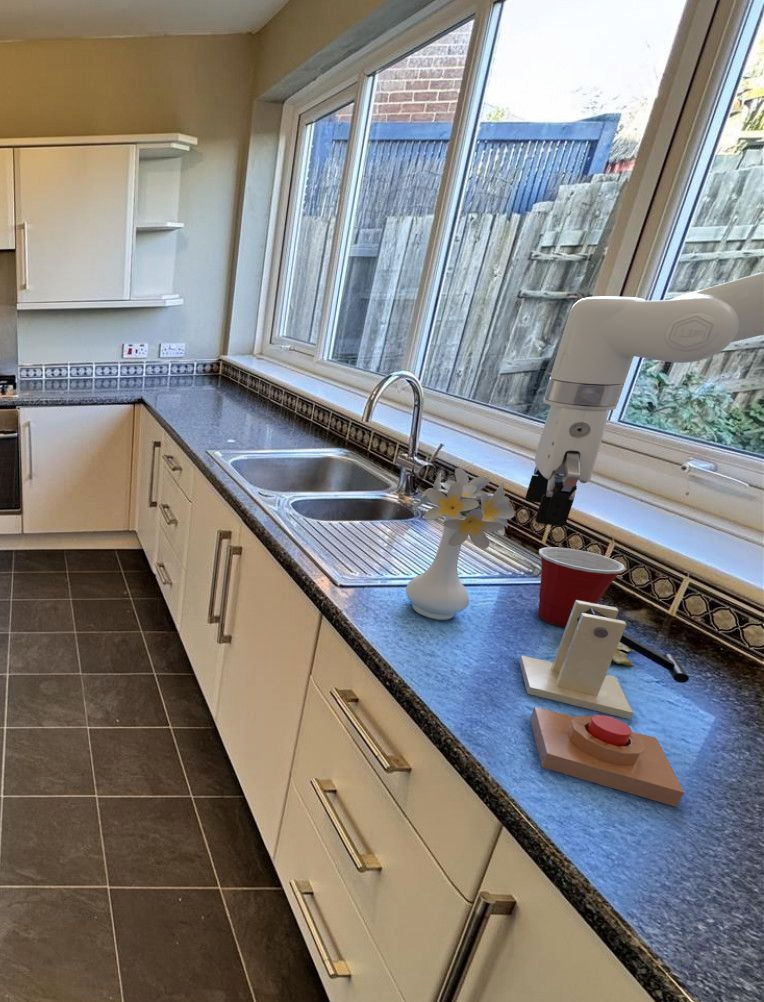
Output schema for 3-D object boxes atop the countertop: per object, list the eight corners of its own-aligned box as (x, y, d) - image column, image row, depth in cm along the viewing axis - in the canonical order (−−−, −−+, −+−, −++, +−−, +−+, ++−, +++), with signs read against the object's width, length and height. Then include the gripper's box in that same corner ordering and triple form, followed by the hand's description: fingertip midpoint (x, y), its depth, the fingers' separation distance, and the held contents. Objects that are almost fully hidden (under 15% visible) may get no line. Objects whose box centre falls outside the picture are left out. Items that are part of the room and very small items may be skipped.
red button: (622, 732, 75) (627, 720, 75) (630, 750, 73) (635, 739, 72) (584, 722, 77) (588, 710, 76) (590, 739, 74) (595, 728, 74)
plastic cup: (589, 611, 108) (612, 549, 104) (610, 642, 99) (637, 576, 95) (513, 598, 113) (532, 538, 108) (526, 627, 104) (548, 563, 100)
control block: (650, 751, 77) (662, 726, 76) (677, 807, 69) (690, 780, 68) (529, 719, 83) (538, 695, 82) (541, 767, 75) (551, 741, 74)
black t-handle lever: (666, 667, 84) (682, 656, 83) (678, 687, 80) (696, 675, 79) (574, 614, 88) (588, 603, 87) (581, 631, 84) (596, 619, 83)
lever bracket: (613, 683, 90) (644, 607, 85) (630, 719, 83) (666, 638, 78) (518, 661, 95) (543, 588, 90) (527, 693, 88) (554, 616, 83)
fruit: (632, 671, 92) (641, 650, 91) (560, 650, 98) (567, 630, 96) (631, 647, 98) (639, 627, 97) (563, 628, 103) (570, 609, 102)
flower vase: (413, 637, 102) (449, 495, 92) (380, 585, 118) (408, 460, 109) (503, 647, 99) (551, 501, 89) (456, 592, 115) (492, 464, 106)
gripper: (638, 409, 74) (591, 539, 80) (603, 386, 87) (565, 498, 94) (557, 403, 77) (518, 528, 84) (536, 382, 91) (504, 491, 97)
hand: (543, 512), depth 89 cm, fingers open, 9 cm apart
